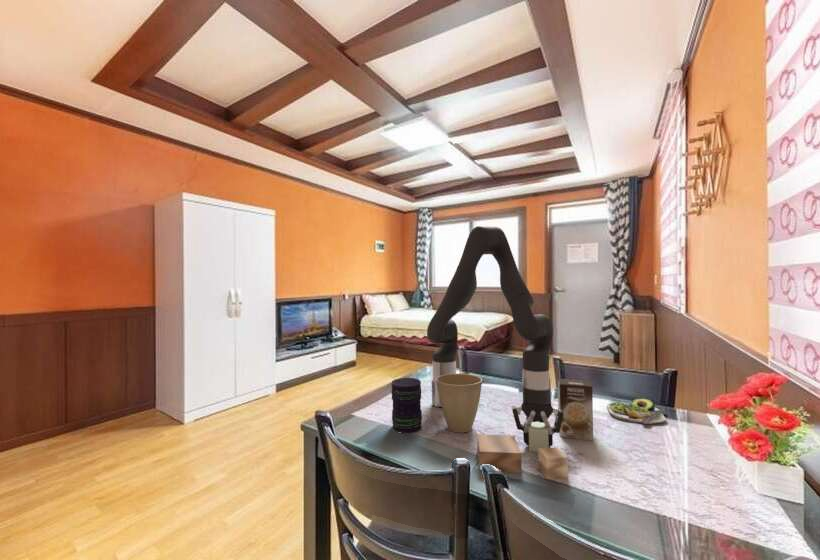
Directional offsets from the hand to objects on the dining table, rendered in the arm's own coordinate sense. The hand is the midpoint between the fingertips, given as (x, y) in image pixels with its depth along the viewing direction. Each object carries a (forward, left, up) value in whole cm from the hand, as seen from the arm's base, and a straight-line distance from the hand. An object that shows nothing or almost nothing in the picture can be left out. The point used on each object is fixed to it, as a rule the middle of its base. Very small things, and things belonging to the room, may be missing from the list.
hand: (538, 445), depth 96 cm
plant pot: (-23, +9, -1) cm, 25 cm away
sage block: (0, 0, -1) cm, 1 cm away
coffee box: (+12, +11, -1) cm, 16 cm away
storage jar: (-40, +6, -1) cm, 40 cm away
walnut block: (-11, -10, -1) cm, 15 cm away
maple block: (+2, -13, -1) cm, 13 cm away
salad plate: (+36, +33, -1) cm, 49 cm away
